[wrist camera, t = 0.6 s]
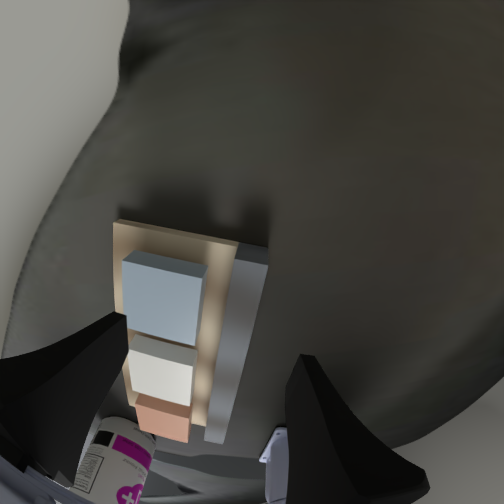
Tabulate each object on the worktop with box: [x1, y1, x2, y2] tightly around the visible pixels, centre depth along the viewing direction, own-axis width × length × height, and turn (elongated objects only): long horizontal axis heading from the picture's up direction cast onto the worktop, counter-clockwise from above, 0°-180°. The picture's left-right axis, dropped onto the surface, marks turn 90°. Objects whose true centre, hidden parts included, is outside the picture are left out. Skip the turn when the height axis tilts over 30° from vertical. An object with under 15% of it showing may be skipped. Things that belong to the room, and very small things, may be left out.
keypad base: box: [113, 219, 268, 444], centre depth 21 cm, size 21×11×3 cm, turn 169°
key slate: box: [122, 250, 208, 346], centre depth 17 cm, size 5×5×2 cm
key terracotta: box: [135, 393, 193, 443], centre depth 22 cm, size 5×5×2 cm
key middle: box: [127, 334, 198, 406], centre depth 19 cm, size 5×5×2 cm
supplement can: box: [69, 417, 156, 504], centre depth 22 cm, size 8×8×15 cm
